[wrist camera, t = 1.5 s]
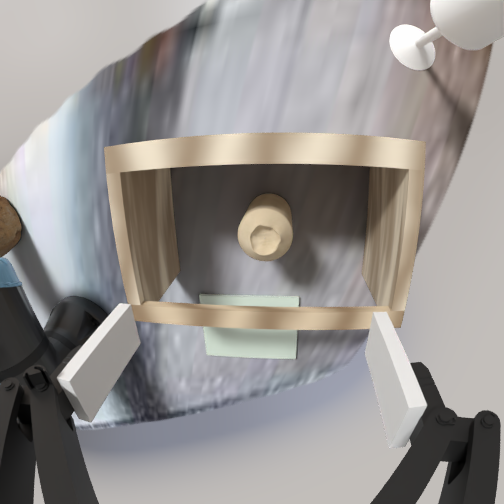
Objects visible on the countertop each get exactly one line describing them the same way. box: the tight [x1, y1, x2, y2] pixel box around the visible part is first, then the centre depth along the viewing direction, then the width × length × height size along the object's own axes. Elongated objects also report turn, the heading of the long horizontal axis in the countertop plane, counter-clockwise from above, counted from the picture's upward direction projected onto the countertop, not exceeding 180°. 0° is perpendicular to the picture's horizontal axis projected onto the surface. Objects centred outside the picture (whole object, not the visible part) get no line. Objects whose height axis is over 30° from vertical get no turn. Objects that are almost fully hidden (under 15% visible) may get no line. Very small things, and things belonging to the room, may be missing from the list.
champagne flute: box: [390, 0, 504, 70], centre depth 18 cm, size 7×7×24 cm
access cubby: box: [104, 133, 426, 330], centre depth 33 cm, size 28×18×13 cm, turn 92°
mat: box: [199, 294, 299, 359], centre depth 45 cm, size 14×11×1 cm
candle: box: [238, 194, 293, 261], centre depth 34 cm, size 6×6×10 cm
